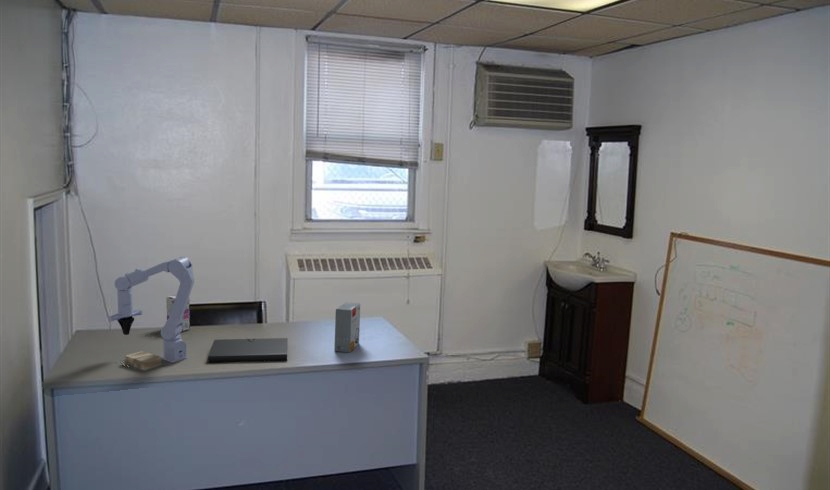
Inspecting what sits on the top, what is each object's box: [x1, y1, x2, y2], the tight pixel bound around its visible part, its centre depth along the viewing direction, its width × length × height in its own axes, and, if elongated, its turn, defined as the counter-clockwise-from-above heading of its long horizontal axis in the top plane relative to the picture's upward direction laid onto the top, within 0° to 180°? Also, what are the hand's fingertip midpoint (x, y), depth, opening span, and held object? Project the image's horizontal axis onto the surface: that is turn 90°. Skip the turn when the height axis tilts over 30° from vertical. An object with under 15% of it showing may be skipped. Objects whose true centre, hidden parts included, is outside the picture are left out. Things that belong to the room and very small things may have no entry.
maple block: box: [124, 350, 163, 370], centre depth 273 cm, size 4×8×13 cm
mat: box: [120, 359, 169, 374], centre depth 274 cm, size 20×12×1 cm, turn 57°
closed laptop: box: [207, 337, 289, 364], centre depth 292 cm, size 33×4×24 cm
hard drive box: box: [333, 301, 361, 353], centre depth 305 cm, size 16×8×20 cm, turn 168°
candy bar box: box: [166, 294, 191, 333], centre depth 325 cm, size 11×5×16 cm, turn 62°
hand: (126, 334), depth 282 cm, fingers closed
